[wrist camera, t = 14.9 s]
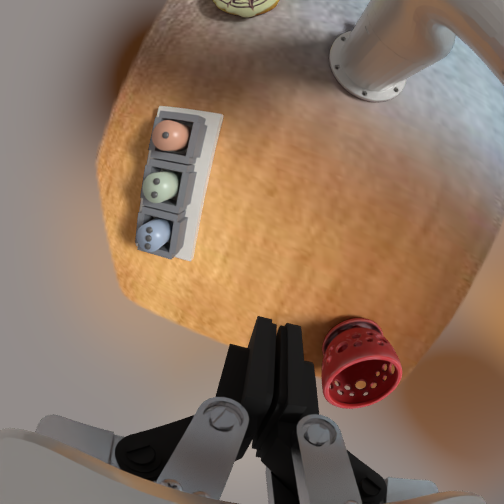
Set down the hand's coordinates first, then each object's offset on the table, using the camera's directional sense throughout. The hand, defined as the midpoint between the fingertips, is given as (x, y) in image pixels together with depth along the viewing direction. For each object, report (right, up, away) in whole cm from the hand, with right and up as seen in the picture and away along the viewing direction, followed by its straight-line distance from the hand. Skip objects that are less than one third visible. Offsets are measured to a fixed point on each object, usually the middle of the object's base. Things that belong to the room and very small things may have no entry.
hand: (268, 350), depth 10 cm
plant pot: (+18, -13, +37) cm, 43 cm away
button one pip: (-11, +20, +26) cm, 34 cm away
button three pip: (-14, +7, +30) cm, 34 cm away
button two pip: (-13, +14, +28) cm, 34 cm away
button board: (-12, +15, +30) cm, 36 cm away
